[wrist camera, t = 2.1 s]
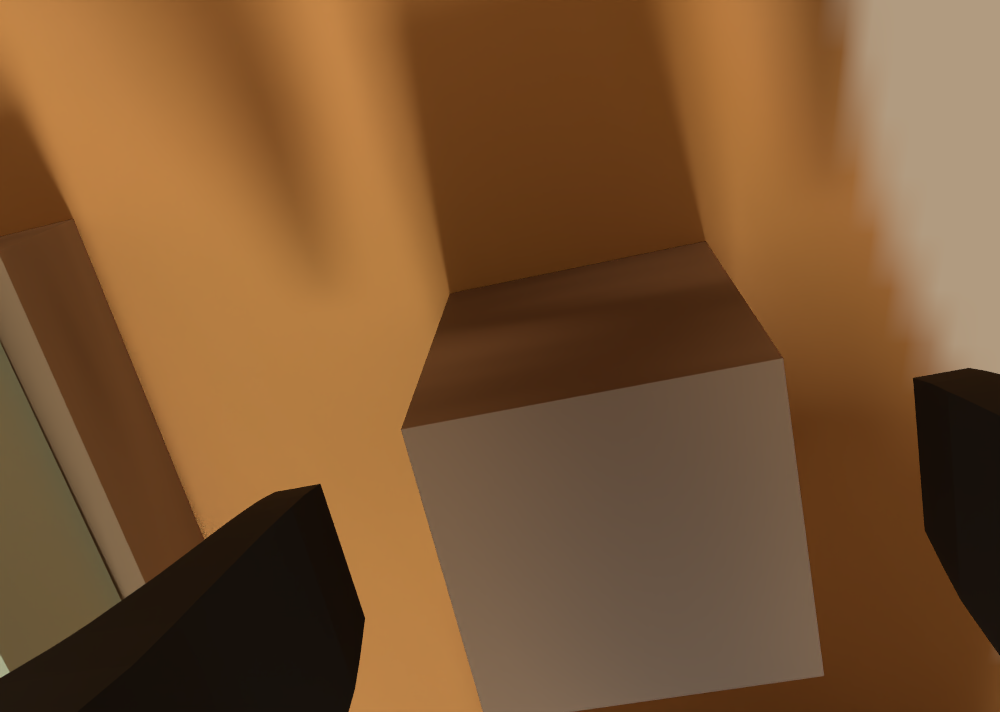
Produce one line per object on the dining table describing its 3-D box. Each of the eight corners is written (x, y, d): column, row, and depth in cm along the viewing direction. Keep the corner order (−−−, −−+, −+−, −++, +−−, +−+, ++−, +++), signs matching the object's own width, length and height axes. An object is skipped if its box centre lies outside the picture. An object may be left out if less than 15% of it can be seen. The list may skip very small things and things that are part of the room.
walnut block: (506, 511, 16) (486, 723, 11) (450, 293, 14) (401, 429, 10) (740, 470, 15) (823, 676, 11) (705, 240, 14) (782, 357, 9)
